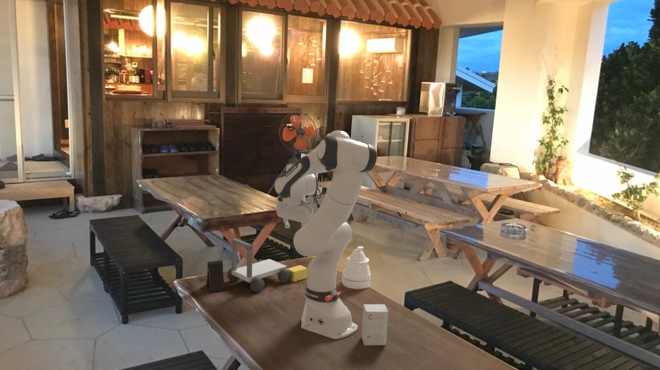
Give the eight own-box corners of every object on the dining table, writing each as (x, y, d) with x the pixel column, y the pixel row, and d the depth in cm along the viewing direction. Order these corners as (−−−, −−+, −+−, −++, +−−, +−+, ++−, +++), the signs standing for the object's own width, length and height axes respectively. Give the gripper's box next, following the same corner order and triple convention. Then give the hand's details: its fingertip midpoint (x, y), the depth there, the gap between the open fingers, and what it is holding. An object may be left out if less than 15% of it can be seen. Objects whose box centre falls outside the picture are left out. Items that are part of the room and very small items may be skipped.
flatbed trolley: (264, 270, 257) (265, 228, 252) (291, 281, 245) (292, 237, 240) (226, 281, 241) (227, 237, 236) (253, 294, 229) (254, 247, 224)
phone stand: (224, 291, 231) (224, 264, 228) (210, 292, 228) (210, 265, 226) (219, 283, 239) (219, 257, 236) (205, 284, 236) (205, 258, 234)
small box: (382, 337, 197) (385, 303, 195) (386, 345, 191) (388, 311, 189) (360, 337, 197) (363, 303, 194) (363, 345, 190) (366, 311, 188)
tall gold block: (306, 278, 250) (307, 268, 249) (293, 282, 244) (294, 271, 243) (299, 275, 253) (300, 265, 252) (286, 279, 248) (287, 268, 247)
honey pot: (375, 287, 243) (378, 249, 240) (350, 290, 238) (352, 251, 234) (361, 276, 255) (364, 240, 251) (337, 280, 249) (339, 242, 246)
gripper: (317, 202, 231) (316, 233, 233) (284, 194, 244) (284, 224, 247) (306, 204, 226) (306, 236, 228) (274, 196, 240) (274, 226, 242)
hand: (294, 230), depth 238 cm, fingers open, 8 cm apart
